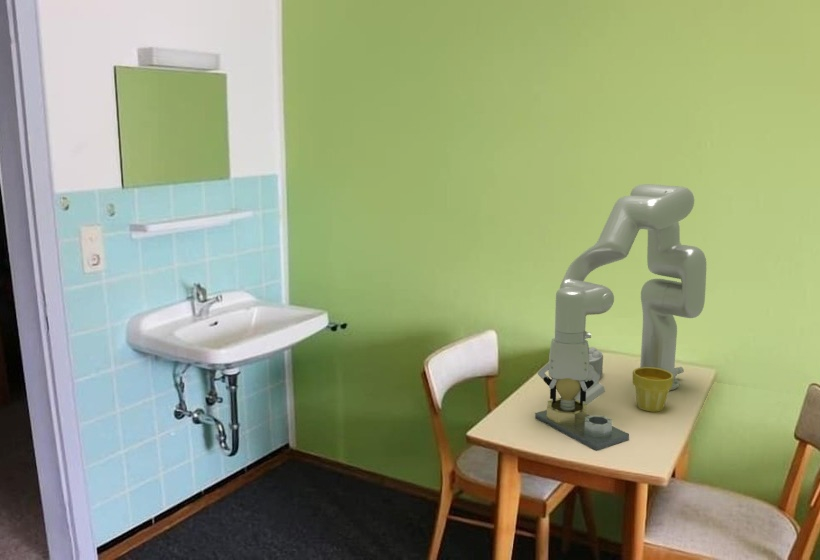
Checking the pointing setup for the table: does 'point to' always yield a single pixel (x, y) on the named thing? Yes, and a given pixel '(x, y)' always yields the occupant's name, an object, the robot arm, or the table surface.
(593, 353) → the lumpy-topped squat cylinder
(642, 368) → the plant pot
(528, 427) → the table surface
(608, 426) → the fitting plate
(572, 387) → the light bulb
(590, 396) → the white rounded block
